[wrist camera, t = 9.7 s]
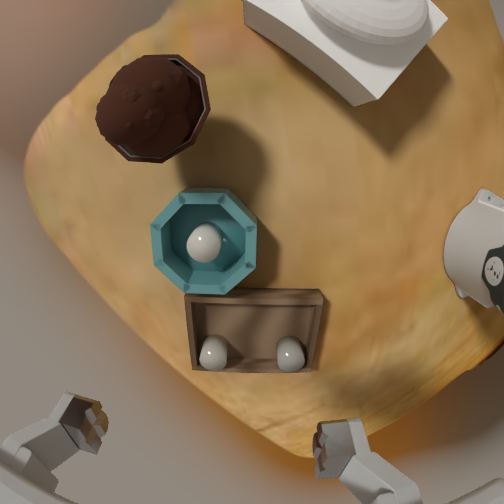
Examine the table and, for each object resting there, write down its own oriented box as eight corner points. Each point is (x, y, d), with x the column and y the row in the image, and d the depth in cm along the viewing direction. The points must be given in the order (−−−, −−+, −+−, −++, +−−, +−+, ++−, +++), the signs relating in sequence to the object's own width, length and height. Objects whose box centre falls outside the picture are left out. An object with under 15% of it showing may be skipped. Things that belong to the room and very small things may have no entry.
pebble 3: (302, 335, 42) (306, 351, 38) (299, 354, 43) (303, 371, 39) (276, 335, 42) (278, 352, 38) (275, 354, 43) (277, 372, 39)
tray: (318, 288, 40) (323, 299, 37) (307, 359, 44) (310, 372, 41) (188, 286, 39) (184, 296, 37) (195, 357, 44) (192, 369, 41)
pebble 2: (228, 334, 42) (226, 351, 38) (228, 353, 43) (226, 371, 39) (202, 333, 42) (198, 350, 38) (204, 352, 43) (200, 369, 39)
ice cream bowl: (215, 162, 34) (189, 172, 20) (130, 155, 33) (63, 164, 19) (227, 79, 30) (211, 34, 16) (141, 76, 30) (81, 43, 16)
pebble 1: (222, 221, 36) (219, 230, 32) (223, 250, 37) (220, 262, 33) (192, 221, 36) (185, 230, 32) (193, 250, 37) (187, 262, 33)
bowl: (257, 187, 35) (257, 193, 30) (254, 278, 39) (254, 295, 35) (161, 187, 35) (148, 193, 30) (166, 275, 39) (157, 291, 34)
